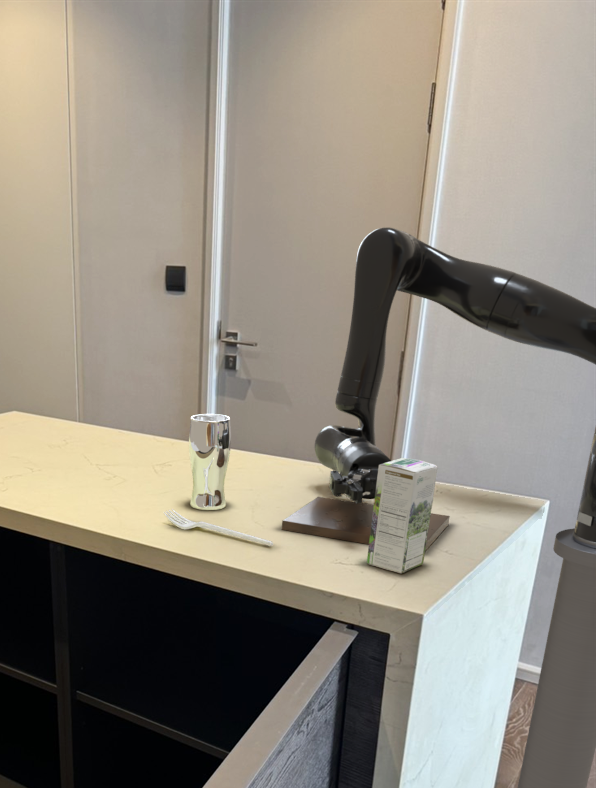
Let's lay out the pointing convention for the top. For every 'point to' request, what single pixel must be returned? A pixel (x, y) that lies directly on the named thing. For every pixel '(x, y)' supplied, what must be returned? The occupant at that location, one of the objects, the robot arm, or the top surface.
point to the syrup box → (401, 514)
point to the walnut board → (346, 520)
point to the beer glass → (209, 459)
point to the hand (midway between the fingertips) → (390, 497)
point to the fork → (211, 528)
